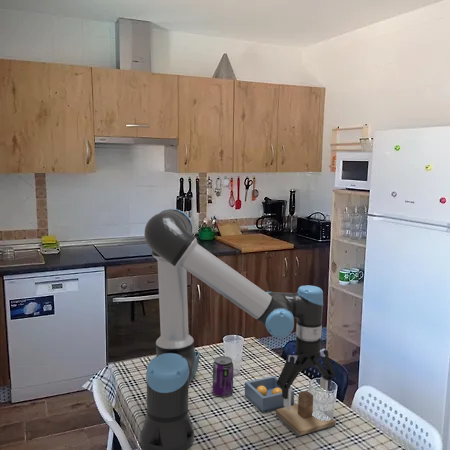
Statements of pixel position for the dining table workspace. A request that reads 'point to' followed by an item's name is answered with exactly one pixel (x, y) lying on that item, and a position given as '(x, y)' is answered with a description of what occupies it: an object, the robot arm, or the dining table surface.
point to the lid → (303, 415)
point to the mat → (292, 428)
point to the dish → (267, 399)
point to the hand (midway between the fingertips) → (305, 403)
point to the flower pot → (195, 365)
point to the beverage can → (222, 376)
